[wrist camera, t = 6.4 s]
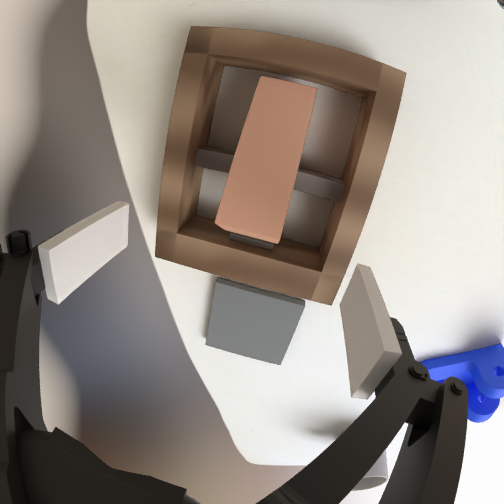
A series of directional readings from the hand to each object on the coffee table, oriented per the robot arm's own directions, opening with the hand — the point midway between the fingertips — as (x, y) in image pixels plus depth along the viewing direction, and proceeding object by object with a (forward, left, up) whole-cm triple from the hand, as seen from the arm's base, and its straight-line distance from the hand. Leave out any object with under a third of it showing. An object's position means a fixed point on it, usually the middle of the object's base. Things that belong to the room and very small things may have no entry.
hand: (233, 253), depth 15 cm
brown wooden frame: (-3, 0, -13) cm, 14 cm away
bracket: (+17, +34, -14) cm, 41 cm away
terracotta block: (-3, 0, -10) cm, 11 cm away
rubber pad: (+15, +2, -13) cm, 20 cm away
